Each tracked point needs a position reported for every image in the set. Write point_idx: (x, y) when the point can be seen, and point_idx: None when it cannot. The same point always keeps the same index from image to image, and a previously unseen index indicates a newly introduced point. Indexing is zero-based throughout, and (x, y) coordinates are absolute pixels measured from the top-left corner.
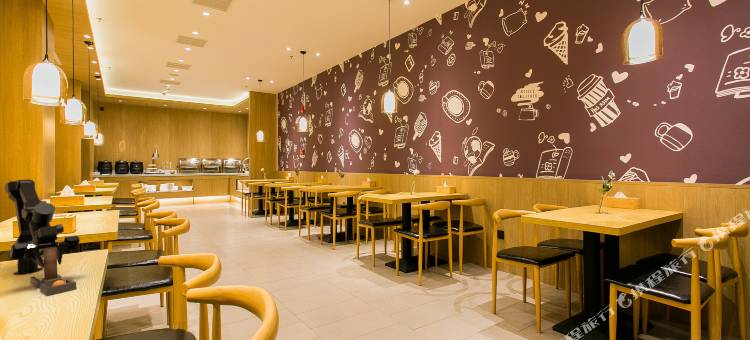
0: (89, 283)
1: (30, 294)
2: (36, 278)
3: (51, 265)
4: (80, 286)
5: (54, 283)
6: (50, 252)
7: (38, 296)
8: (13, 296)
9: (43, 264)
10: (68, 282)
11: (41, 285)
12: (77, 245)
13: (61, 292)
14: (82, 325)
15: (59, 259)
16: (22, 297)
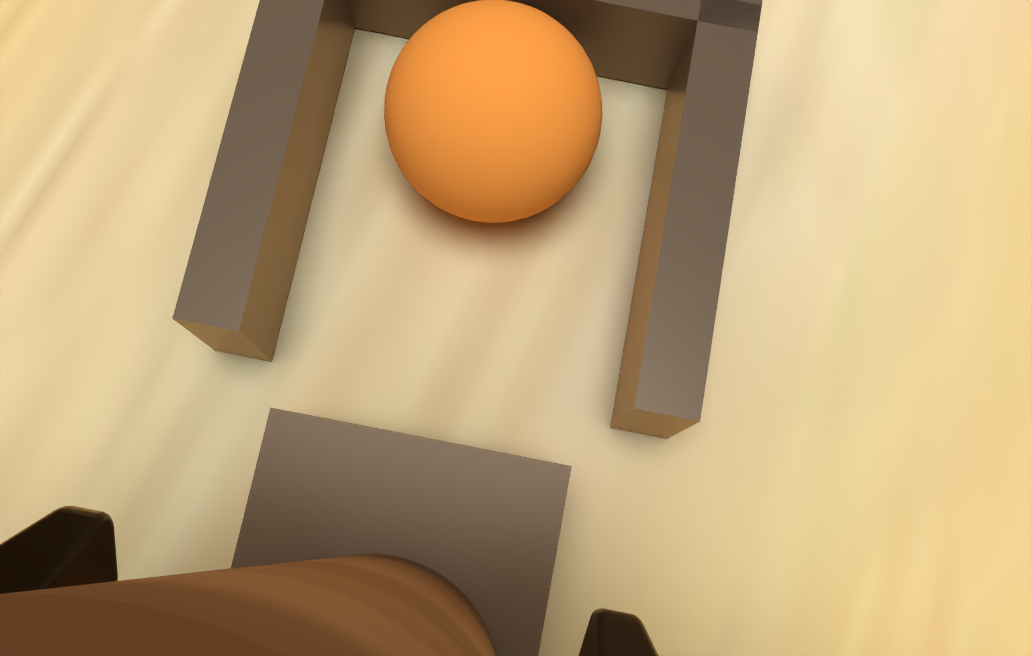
0: (6, 91)
1: (821, 427)
2: None
3: (371, 570)
4: (188, 62)
5: (579, 78)
6: (308, 594)
7: (798, 165)
8: (1021, 602)
9: (607, 653)
10: (296, 155)
11: (715, 312)
12: None
13: None
14: None
15: None
16: (956, 370)
